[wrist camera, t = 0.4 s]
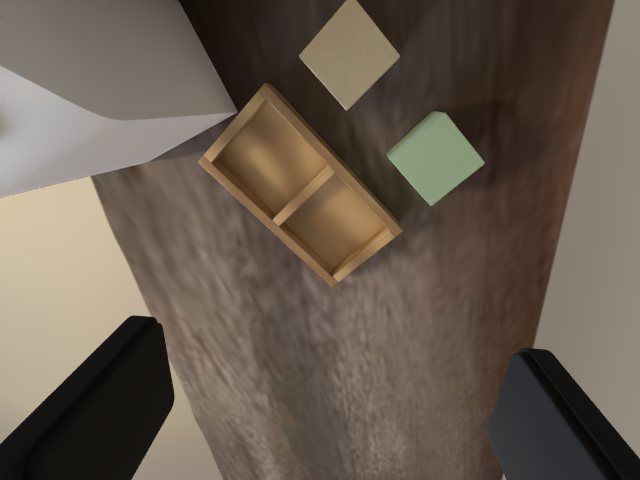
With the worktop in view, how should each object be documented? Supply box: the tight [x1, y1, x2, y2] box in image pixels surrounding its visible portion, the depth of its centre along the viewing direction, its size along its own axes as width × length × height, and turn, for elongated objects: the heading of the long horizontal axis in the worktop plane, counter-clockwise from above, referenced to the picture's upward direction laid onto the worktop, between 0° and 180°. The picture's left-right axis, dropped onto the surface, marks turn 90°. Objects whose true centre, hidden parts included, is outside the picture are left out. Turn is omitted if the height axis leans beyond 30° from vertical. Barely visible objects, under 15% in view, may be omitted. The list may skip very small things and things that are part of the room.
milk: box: [0, 0, 238, 198], centre depth 21 cm, size 12×12×26 cm
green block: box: [386, 111, 485, 206], centre depth 32 cm, size 6×6×4 cm
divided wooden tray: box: [198, 83, 403, 287], centre depth 35 cm, size 10×20×3 cm, turn 44°
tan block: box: [299, 0, 400, 110], centre depth 29 cm, size 6×6×4 cm
